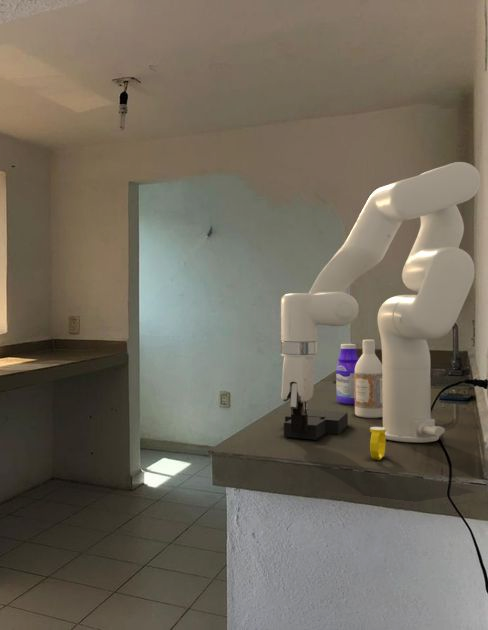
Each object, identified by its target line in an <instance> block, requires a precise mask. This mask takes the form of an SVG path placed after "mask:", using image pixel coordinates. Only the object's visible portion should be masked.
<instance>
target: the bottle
mask: <svg viewBox="0 0 488 630" xmlns="http://www.w3.org/2000/svg"><path fill="white" fill-rule="evenodd" d="M357 353H358V352H357V344H356V343H355V344H354V343H341V344H340V353H339V356H338V358H337V361H338V363H337V365H336V368H335V373H336V374H335V377H336V379H335V383H336V384H335V385H336V400H337V401H336V402H338V403H340V404H344V405H349V406H351V405H352V406H353V405H355V373H354V372H355V366H356V363H357V361H358V360H359V358H360V357H358V354H357Z"/></svg>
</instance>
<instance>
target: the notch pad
mask: <svg viewBox="0 0 488 630" xmlns="http://www.w3.org/2000/svg"><path fill="white" fill-rule="evenodd" d="M306 415H308V417H321V418H322V419H323V420H326V434H330V435H340V434H341V432H343V431H344V430H345V429H346V428H347V427H348V426H349V419H348V418H349V417H348V416H349V415H348V411H336V410H335V411H333V410H319V409H308V411H307V414H306ZM289 420H291V412H290V413H288V414H287V415H285V416H284V423H285V422H287V421H289Z"/></svg>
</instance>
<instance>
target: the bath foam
mask: <svg viewBox="0 0 488 630" xmlns="http://www.w3.org/2000/svg"><path fill="white" fill-rule="evenodd" d="M358 358H359V360H358V361H357V363H356V366H355V372H354V373H355V404H354V414H355V416H357V417H359V418H363V419H364V418H365V419H380V418H383V393H382V361H381V360H380V359H379V357H378V356H377V355H376V341H375V339H362V354H361V355H360V356H359V357H358Z"/></svg>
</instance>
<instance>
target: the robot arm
mask: <svg viewBox="0 0 488 630" xmlns="http://www.w3.org/2000/svg"><path fill="white" fill-rule="evenodd" d="M481 182H482V177H481V174H480V172H479V170H478V169H477V168H476V167H475V166H474V165H473V164H471V163H468V162H465V161H456V162H452V163H448V164H445V165H442V166H439V167H435V168H432V169H430V170H427V171H425V172H422V173H420V174H418V175H415V176H412V177H409V178H404V179H401V180H397V181H395V182H392V183H389V184H387V185H382V186H381V187H378V188H377V189H375V190H374V191H373V192H372V193H371V194H370V196H369V197H368V199H367V200H366V202H365V204H364V206H363V208H362V209H361V212H360V214H359V215H358V217H357V219H356V221H355V223H354V225H353V227H352V229H351V230H350V232H349V235H348V236H347V238H346V240H345V241H344V243H343V244H342V245H341V247H340V248H339V249H338V250H337V251H336V253H335V254H334V255H333V256H332V257H331V259H330V260H329V261H328V262H327V263H326V265H325V266H324V267H323V268H322V270H321V271H320V273H319V274H318V275H317V277H316V279H315V280H314V282H313V284H312V286H311V288H310V290H309V291H308V292H302V293H301V292H296V293H295V292H294V293H286V294H284V295H282V297H281V300H280V356H281V357H283V362H282V371H281V372H282V373H281V400H282V401H283V402H287V401H289V400H290V413H291V432H292V433H301V434H305V433H307V432H308V415H306V414H307V411H308V410H309V409H308V408H309V407H308V406H309V400H311V399H312V398H313V396H314V386H315V385H314V382H315V381H314V359H313V358H317V357H318V326H319V325H320V326H330V327H345V326H347V325H349V324H351V323H352V322H354V321H355V320H356V319H357V317H358V315H359V307H360V306H359V303H358V301H357V299H355V298H354V296H353V295H351V294H349V293H346V292H347V290H348V289H349V288H350V286H351V285H352V284H353V283H354V282H355V281H356V280H357V279H358V278H359V277H361V276H362V275H364V274H365V273H367V272H368V271H370V270H372V269H373V268H374V267H376V266H378V264H379V263H381V261H382V260H383V259H384V257H385V255H386V253H387V252H388V250H389V248H390V246H391V243H392V242H393V240H394V238H395V236H396V235H397V232H398V231H399V229H400V227H401V225H402V224H403V222H405V221H409V220H414V219H418V218H419V219H420V226H419V230H418V233H417V236H416V238H415V241H414V243H413V246H412V248H411V250H410V252H409V254H408V257H407V259H406V261H405V263H404V265H403V268H402V272H401V279H402V282H403V284H404V285H405V287H406V288H407V289H409V290H411V291H413V292H416V293H417V294H399V295H395V296H391V297H390V298H387V299H386V300H385V301H383V303H381V305H380V307H379V309H378V312H377V327H378V332H379V337H380V345H381V364H382V393H383V417H382V427H383V428H385V429H386V432H385V438H386V441H387V440H388V441H394V442H400V443H415V444H417V443H432V442H437V441H439V439H440V437H441V436H442V434H444V433H445V431H446V429H445V427H443V426H439V425H436V419H434V418H432V408H431V407H432V406H431V404H432V403H431V402H432V401H431V400H432V399H431V398H432V396H431V395H432V394H431V392H432V390H431V389H432V388H431V386H432V385H431V353H430V349H429V345H428V342H427V341H433V340H434V341H435V340H438V339H441V338H443V337H445V336H446V335H447V334H448V333H449V332H450V331H451V330H452V329H453V327H454V326H455V324H456V322H457V320H458V317H459V315H460V313H461V310H462V309H463V306H464V305H465V302H466V299H467V297H468V295H469V293H470V290H471V289H472V286H473V284H474V280H475V274H476V273H475V272H476V270H475V264H474V260H473V259H472V257H471V255H470V254H469V253H468V252H467V251H465V250H464V249H462V248H460V244H461V242H462V239H463V236H464V232H465V225H464V219H463V217H462V215H461V212H460V210H459V208H458V205H459V204H463V203H465V202H468V201H470V200H471V199H472V198H473V197H474V196H476V194H477V193H478V192H479V190H480V187H481Z"/></svg>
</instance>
